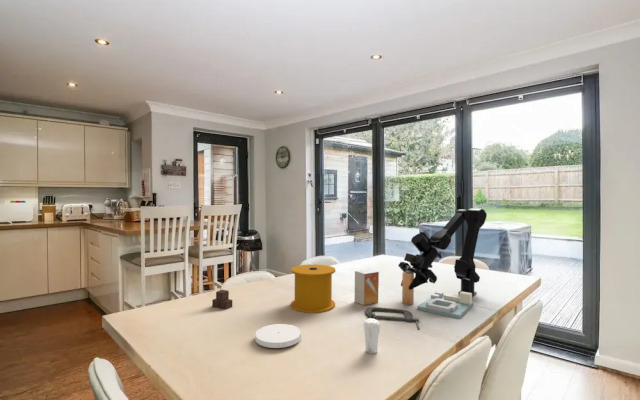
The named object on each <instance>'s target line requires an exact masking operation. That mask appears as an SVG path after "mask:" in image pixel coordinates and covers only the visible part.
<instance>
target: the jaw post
mask: <svg viewBox="0 0 640 400" xmlns="http://www.w3.org/2000/svg"><path fill="white" fill-rule="evenodd" d="M401 276H402V277H401V278H402V280H401V282H402V286H401V288H402V291H401V293H402V294H401V295H402V296H401V298H402V299H401V300H402V301H401V303H402V304H403V305H407V306H408V305H409V306H410V305H411V306H412V305H414V299H415V298H414V296H415V295H414V293H415V291H414V290H415V288H413V289H411V290H409V286H410V284H411V283H412V281H413V280H414V278H415V273H412V272H411V271H408V270H407V271H405V272H403V271H402V274H401Z"/></svg>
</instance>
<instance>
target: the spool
mask: <svg viewBox="0 0 640 400" xmlns="http://www.w3.org/2000/svg"><path fill="white" fill-rule="evenodd" d="M290 272H291V273H292V274H294V300H292V301H291V302H290V307H291V309H293V310H294V311H297V312H301V313H306V314H309V313H311V314H315V313H316V314H318V313H325V312H326V313H327V312H329V311H331V310H333V309H334V308H336V302H335V301H334V300H333V299H332V298H333V297H332V295H333V293H332V292H333V291H332V290H333V289H332V285H333V284H332V283H333V282H332V279H333V276H332V275H333V274H335V273H336V268H335V267H334V266H331V265H326V264H315V263H314V264H300V265H296V266H293V267H291V269H290Z"/></svg>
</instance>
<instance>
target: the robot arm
mask: <svg viewBox="0 0 640 400" xmlns="http://www.w3.org/2000/svg"><path fill="white" fill-rule="evenodd" d="M487 215H488V214H487V212H486V210H485V209H483V208H468V209H462V208H461V209H457V210H456V211H455V214H454V215H453V216H452V217H451V218H450V219H449V221H448V222H447V223H446V224H445V225H444V226H443V228H441V229H440V230H439V231H436V232H435V233H434V234H432V235H431V236H430V237H429V236H427V234H426V232H424V231H420V232H419V233H417V234H415V235H414V236H412V238H411V241H410V242H411V243H412V245H413V246H414V247H415V248H416V250H418V252H419V253H421V254H417V253H416V254H412V253H409V252H408V253H405V256H404V258H403V260H404V261H400V262H399V263H398V267H399V269H400V270H402V273H403V272H405V271H407V270H408V271H411V272H412V273H414V280H413V281H412V283H411V284H410V286H409V290H411V289H413V288H414V289H415V288H417V287H420V286H421V285H424V284H427V283H432V284H436V282H437V280H438V277H437V275H436V274H435V273H434V271H432V268H433V265H432V264H433V263H434V261H435V260H436V259H442V258H443V256H442V252H441V251H438V250H442V251H443V250H447V248H448V247H449V245H450V244H451V242H452V237H453V236H454V234H455V233H456V231H457V230H459V228H460V227H461V226H462V225H463V223H464V222H466V223H465V224H466V225H467V228H466V234H465V238H464V243H463V247H462V253H461V256H460V258H458V259H455V261H454V266H453V268H454V269H453V270H454V273H455V276H456V279H459V280H460V291H458V292H457V293H458V294H459V295H460V292H468V293H472V297H474V296H475V295H476V294H477V291H475V284H476V283H478V282H480V278H481V276H479V274H478V273H477V272H476V263H475V261H474V258H475V252H476V248H477V247H476V246H477V243H478V237H479V232H480V229H481V228H482V227H483V225H484V224H485V222H486V219H487ZM429 268H430V269H429ZM400 287H402V281H401V283H400Z"/></svg>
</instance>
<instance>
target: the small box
mask: <svg viewBox="0 0 640 400" xmlns="http://www.w3.org/2000/svg"><path fill="white" fill-rule="evenodd" d="M379 273H380V272H379V271H377V270H373V269H371V268H367V269H360V270H355V271H354V302H355V303H357V304H359V305H362V306H367V305H368V306H369V305H372V304H377V303H379V285H380V284H379V280H380V279H379V275H380V274H379Z"/></svg>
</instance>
